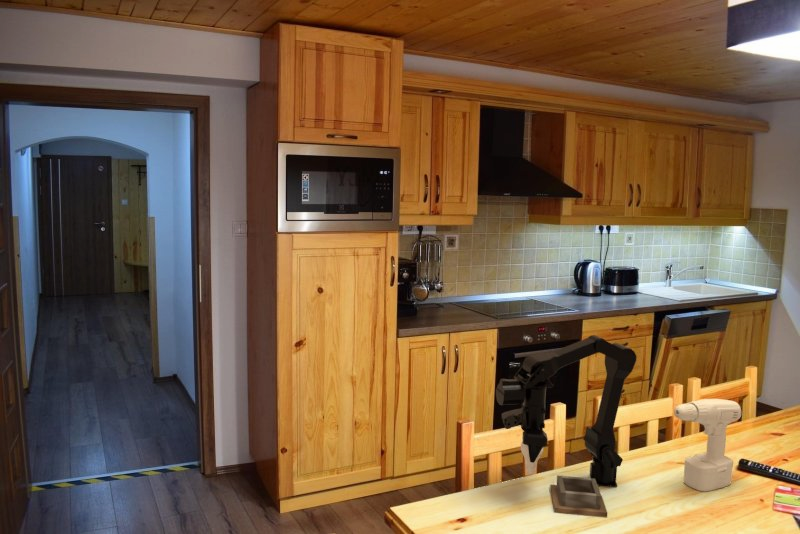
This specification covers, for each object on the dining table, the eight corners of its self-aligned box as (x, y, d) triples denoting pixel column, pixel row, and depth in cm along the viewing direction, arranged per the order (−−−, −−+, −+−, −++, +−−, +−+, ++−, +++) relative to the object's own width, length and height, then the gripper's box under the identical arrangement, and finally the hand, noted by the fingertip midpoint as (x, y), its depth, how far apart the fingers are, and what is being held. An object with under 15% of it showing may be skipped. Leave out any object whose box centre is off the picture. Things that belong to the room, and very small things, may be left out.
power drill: (657, 486, 180) (664, 400, 177) (715, 471, 191) (723, 390, 188) (682, 500, 173) (690, 410, 169) (742, 483, 183) (750, 399, 180)
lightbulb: (525, 481, 173) (527, 442, 172) (515, 470, 179) (517, 433, 177) (545, 478, 175) (548, 440, 173) (535, 468, 181) (537, 431, 179)
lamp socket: (598, 492, 175) (599, 476, 175) (607, 517, 163) (608, 499, 162) (550, 488, 177) (551, 472, 176) (554, 512, 164) (555, 494, 164)
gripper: (503, 389, 184) (501, 441, 186) (505, 412, 166) (502, 469, 168) (543, 392, 183) (540, 444, 185) (549, 415, 164) (545, 473, 167)
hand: (531, 457), depth 176 cm, fingers closed on lightbulb, 6 cm apart
